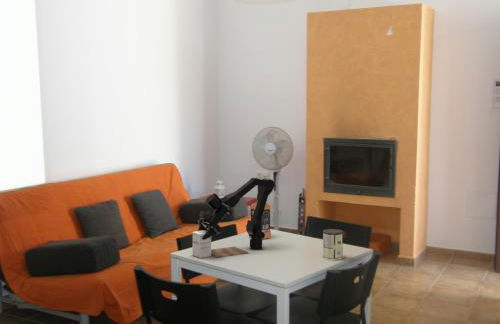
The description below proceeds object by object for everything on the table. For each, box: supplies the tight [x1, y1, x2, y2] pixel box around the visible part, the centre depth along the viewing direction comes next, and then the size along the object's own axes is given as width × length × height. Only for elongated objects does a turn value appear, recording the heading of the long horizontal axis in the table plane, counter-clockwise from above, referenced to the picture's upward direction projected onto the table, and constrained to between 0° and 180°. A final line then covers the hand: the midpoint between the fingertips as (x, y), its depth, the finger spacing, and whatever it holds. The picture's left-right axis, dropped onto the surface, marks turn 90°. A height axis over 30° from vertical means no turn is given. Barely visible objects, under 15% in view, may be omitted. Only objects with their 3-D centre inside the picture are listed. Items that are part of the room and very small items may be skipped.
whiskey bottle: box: [248, 185, 272, 241], centre depth 326 cm, size 10×10×32 cm
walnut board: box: [211, 245, 249, 259], centre depth 290 cm, size 19×15×1 cm
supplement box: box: [192, 230, 212, 259], centre depth 282 cm, size 7×7×13 cm
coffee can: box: [322, 228, 344, 261], centre depth 280 cm, size 10×10×14 cm
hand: (199, 238), depth 281 cm, fingers closed on supplement box, 7 cm apart
